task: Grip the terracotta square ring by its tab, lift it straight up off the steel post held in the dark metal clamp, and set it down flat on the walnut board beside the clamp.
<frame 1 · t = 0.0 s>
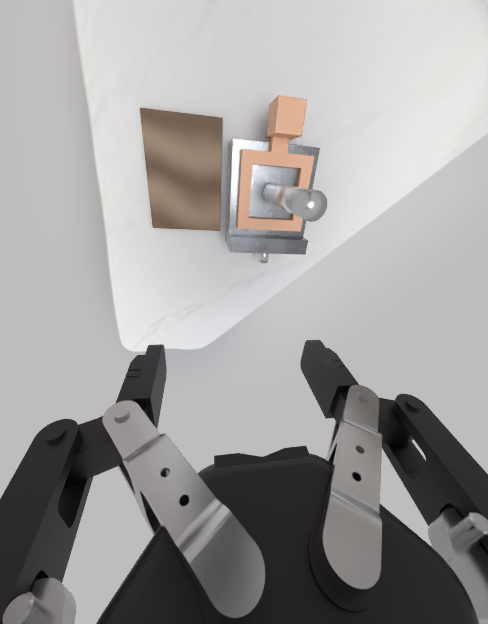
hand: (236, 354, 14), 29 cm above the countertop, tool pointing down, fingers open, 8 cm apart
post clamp: (263, 190, 36), on the countertop
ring: (271, 193, 32), point 5 cm above the countertop, touching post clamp
board: (185, 176, 34), on the countertop
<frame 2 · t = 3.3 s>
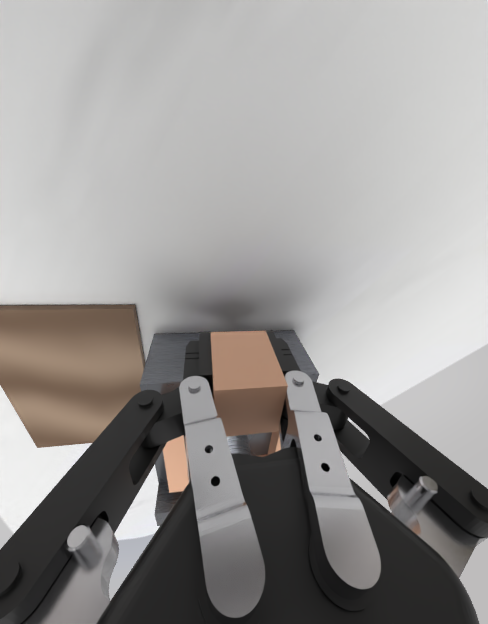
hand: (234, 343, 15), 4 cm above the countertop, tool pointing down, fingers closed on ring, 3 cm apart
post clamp: (225, 382, 22), on the countertop
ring: (230, 434, 17), point 5 cm above the countertop, touching gripper, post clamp
board: (81, 382, 19), on the countertop
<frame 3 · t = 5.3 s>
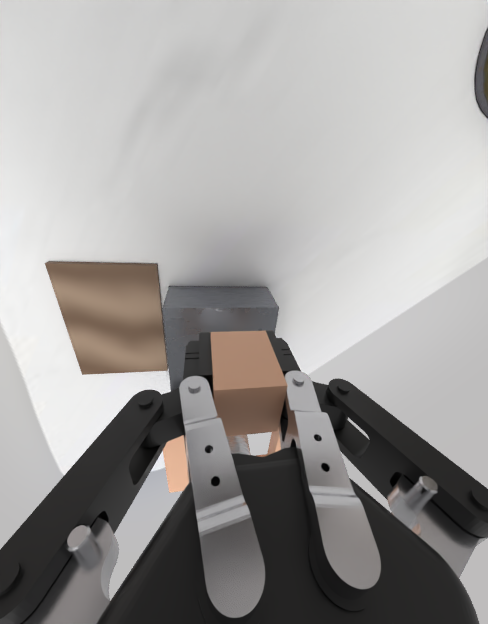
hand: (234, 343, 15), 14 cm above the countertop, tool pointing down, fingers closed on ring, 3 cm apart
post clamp: (218, 327, 30), on the countertop
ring: (230, 434, 17), point 14 cm above the countertop, touching gripper
board: (117, 322, 27), on the countertop
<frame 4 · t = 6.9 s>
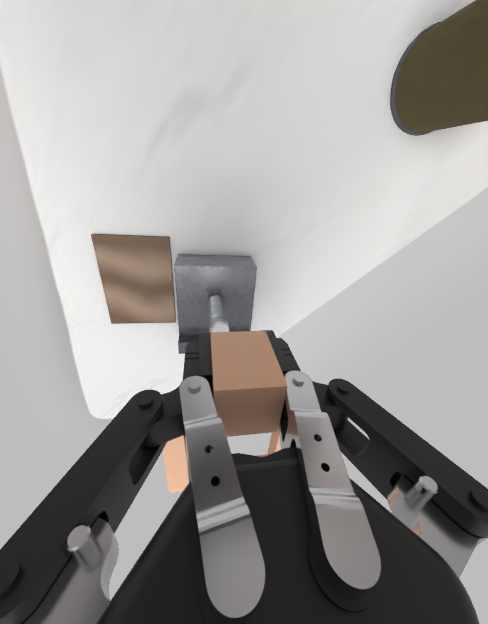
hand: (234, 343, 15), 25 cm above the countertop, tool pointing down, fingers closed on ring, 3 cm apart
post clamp: (214, 288, 39), on the countertop
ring: (230, 434, 17), point 26 cm above the countertop, touching gripper
board: (139, 282, 37), on the countertop
canister: (430, 84, 30), on the countertop
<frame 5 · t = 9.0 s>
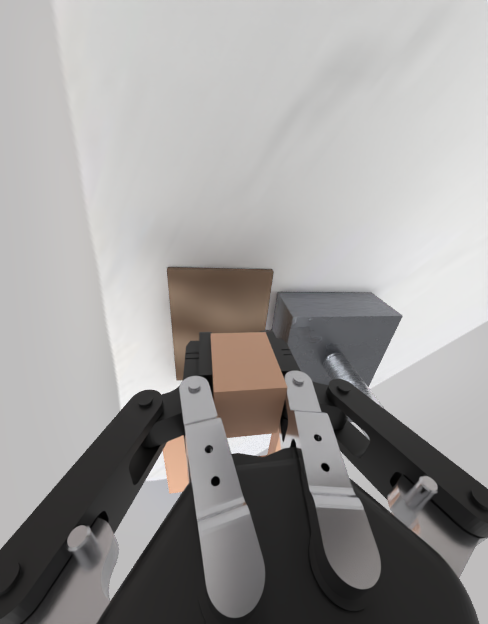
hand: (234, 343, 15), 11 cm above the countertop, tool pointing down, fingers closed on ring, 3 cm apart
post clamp: (314, 333, 29), on the countertop
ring: (230, 435, 18), point 12 cm above the countertop, touching gripper
board: (219, 328, 27), on the countertop
when the fingers open (2 cm above the countertop, at t = 10.7 s): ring drops 2 cm, resting on board.
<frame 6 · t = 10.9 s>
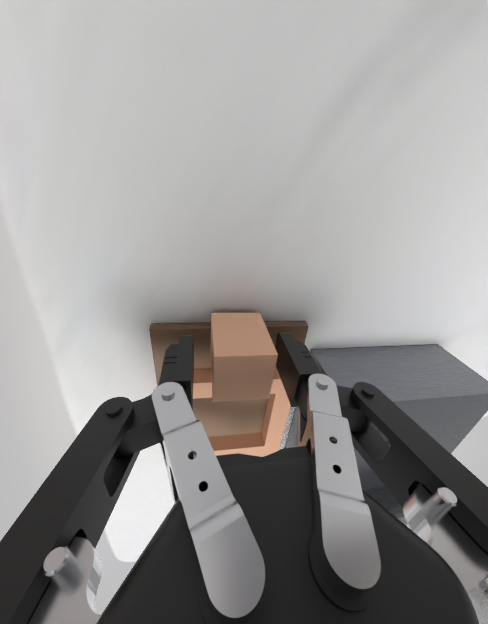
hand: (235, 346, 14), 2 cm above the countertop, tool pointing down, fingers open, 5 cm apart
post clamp: (356, 396, 22), on the countertop
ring: (228, 411, 19), point 1 cm above the countertop, touching board
board: (227, 397, 19), on the countertop
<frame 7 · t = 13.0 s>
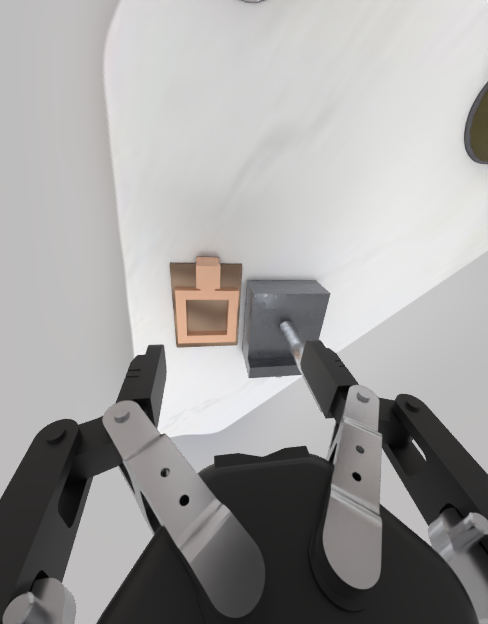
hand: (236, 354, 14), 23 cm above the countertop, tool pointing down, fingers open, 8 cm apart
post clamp: (277, 311, 40), on the countertop
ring: (207, 314, 37), point 1 cm above the countertop, touching board
board: (207, 307, 38), on the countertop
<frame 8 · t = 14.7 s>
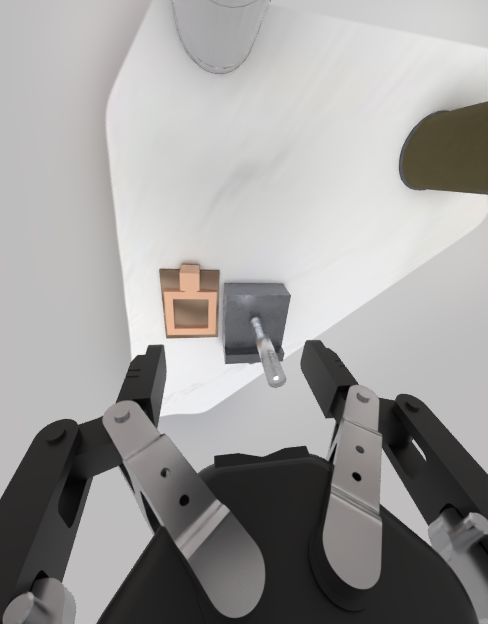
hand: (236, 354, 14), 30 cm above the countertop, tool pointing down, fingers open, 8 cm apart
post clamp: (251, 309, 48), on the countertop
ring: (191, 311, 45), point 1 cm above the countertop, touching board
board: (191, 305, 45), on the countertop
canister: (430, 153, 38), on the countertop
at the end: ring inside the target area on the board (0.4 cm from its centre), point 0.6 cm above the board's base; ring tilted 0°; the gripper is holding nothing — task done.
